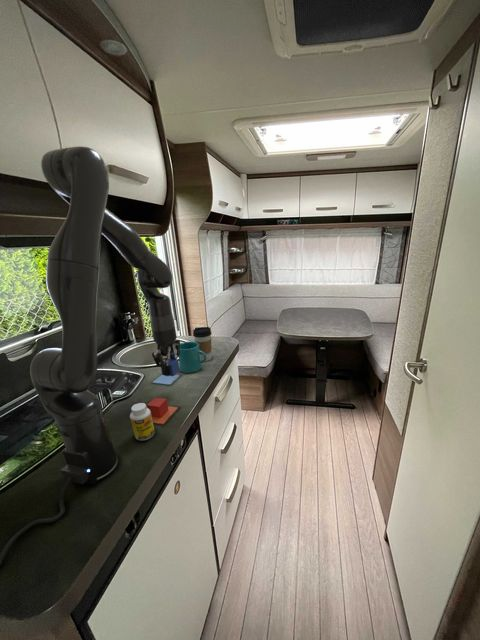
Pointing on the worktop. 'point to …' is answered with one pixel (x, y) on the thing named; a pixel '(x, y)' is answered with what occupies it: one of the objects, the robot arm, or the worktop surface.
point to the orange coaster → (165, 417)
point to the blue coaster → (166, 379)
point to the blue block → (172, 367)
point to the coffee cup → (203, 341)
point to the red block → (158, 407)
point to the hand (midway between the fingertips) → (170, 372)
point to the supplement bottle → (142, 422)
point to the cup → (190, 357)
